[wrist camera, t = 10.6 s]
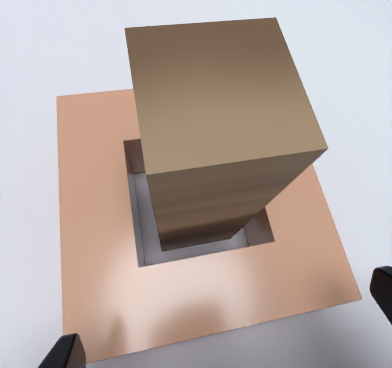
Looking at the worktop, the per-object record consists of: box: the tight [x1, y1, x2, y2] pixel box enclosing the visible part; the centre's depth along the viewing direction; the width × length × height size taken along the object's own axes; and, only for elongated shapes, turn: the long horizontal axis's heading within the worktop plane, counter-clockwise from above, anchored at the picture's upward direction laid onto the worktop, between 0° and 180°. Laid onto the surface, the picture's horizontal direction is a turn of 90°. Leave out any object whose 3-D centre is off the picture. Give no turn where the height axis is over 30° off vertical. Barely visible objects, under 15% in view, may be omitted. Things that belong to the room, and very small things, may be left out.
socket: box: [56, 89, 362, 364], centre depth 15 cm, size 12×12×4 cm
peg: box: [125, 18, 328, 251], centre depth 12 cm, size 4×4×11 cm
